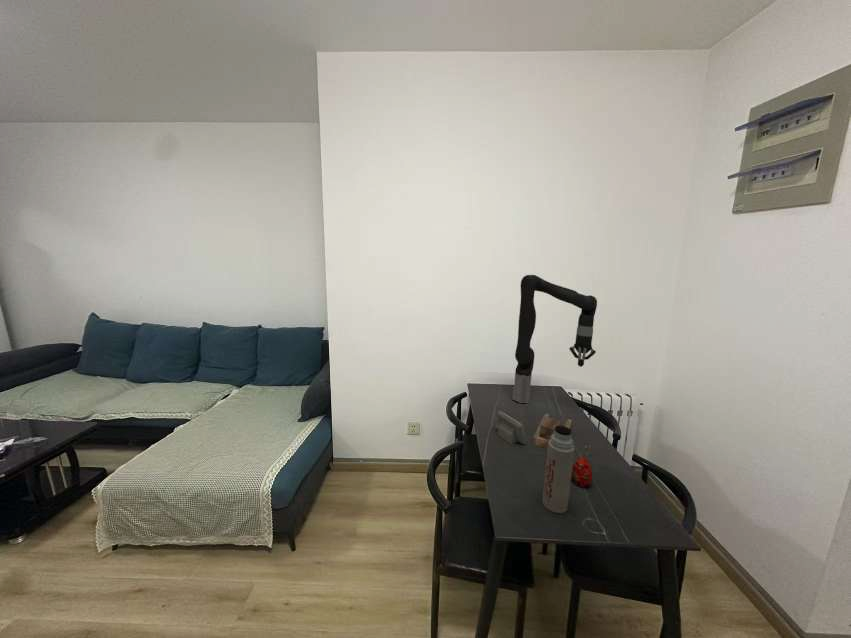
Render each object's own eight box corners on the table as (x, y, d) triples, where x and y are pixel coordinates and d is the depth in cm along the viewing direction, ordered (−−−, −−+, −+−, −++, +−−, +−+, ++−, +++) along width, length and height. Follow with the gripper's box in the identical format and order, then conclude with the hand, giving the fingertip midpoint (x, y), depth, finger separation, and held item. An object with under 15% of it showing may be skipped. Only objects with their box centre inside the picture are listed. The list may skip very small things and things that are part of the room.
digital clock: (527, 445, 145) (529, 424, 143) (510, 448, 142) (511, 426, 140) (508, 427, 160) (510, 408, 158) (492, 430, 157) (493, 410, 155)
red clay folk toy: (566, 476, 124) (570, 441, 121) (581, 474, 126) (585, 439, 123) (580, 490, 117) (585, 453, 114) (596, 487, 118) (601, 450, 116)
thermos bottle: (548, 513, 105) (557, 435, 100) (538, 496, 113) (545, 423, 108) (571, 512, 106) (581, 435, 101) (559, 495, 114) (568, 422, 109)
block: (538, 443, 147) (540, 425, 145) (546, 434, 155) (547, 417, 153) (551, 448, 143) (553, 429, 142) (558, 438, 151) (560, 421, 149)
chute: (532, 444, 145) (533, 437, 145) (544, 419, 169) (544, 413, 169) (563, 453, 139) (564, 446, 138) (570, 426, 163) (571, 420, 162)
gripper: (569, 333, 165) (566, 365, 168) (598, 337, 158) (594, 370, 161) (571, 331, 171) (567, 362, 174) (599, 334, 165) (595, 366, 168)
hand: (580, 366), depth 168 cm, fingers closed
